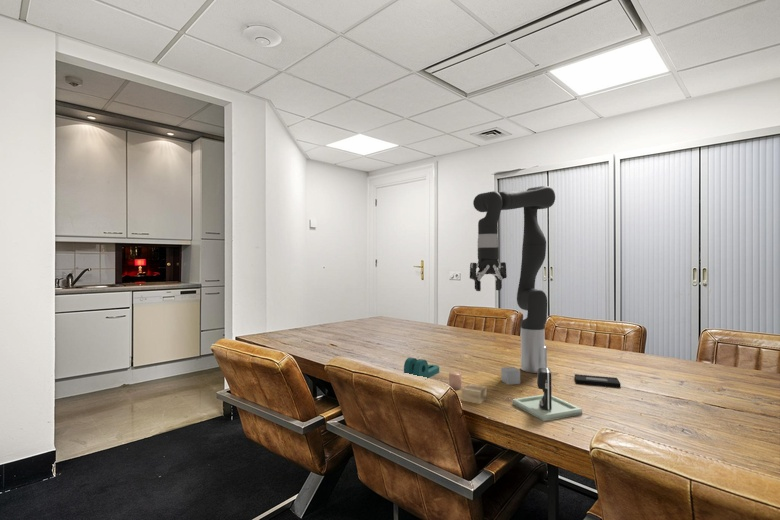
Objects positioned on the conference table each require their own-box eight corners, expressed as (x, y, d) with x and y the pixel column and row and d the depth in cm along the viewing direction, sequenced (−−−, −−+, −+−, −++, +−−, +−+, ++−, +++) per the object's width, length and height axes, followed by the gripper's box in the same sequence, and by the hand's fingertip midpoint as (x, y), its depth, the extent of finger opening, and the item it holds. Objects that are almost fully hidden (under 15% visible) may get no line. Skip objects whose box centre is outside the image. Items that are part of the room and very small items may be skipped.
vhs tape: (574, 379, 154) (574, 374, 154) (617, 383, 149) (617, 377, 149) (576, 385, 147) (576, 379, 147) (620, 389, 142) (620, 383, 142)
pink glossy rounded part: (457, 384, 147) (457, 371, 147) (463, 388, 143) (463, 374, 143) (446, 386, 146) (446, 372, 146) (452, 390, 142) (452, 375, 142)
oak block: (469, 395, 136) (469, 383, 136) (486, 399, 133) (486, 386, 133) (462, 401, 131) (462, 388, 131) (479, 404, 128) (479, 392, 128)
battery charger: (536, 401, 127) (536, 365, 127) (549, 403, 126) (549, 366, 126) (538, 410, 120) (537, 371, 120) (551, 411, 119) (551, 372, 119)
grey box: (513, 380, 153) (513, 366, 153) (520, 384, 148) (520, 370, 148) (501, 380, 152) (501, 367, 152) (507, 384, 147) (507, 371, 147)
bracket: (419, 383, 150) (418, 362, 150) (404, 380, 154) (403, 359, 154) (442, 371, 165) (442, 352, 165) (428, 369, 169) (427, 350, 169)
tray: (548, 398, 132) (548, 393, 132) (582, 414, 119) (582, 408, 119) (512, 404, 128) (512, 399, 128) (543, 421, 114) (543, 415, 114)
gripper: (476, 246, 143) (476, 292, 143) (510, 246, 147) (510, 290, 148) (465, 247, 150) (466, 290, 150) (498, 246, 154) (498, 289, 155)
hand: (488, 290), depth 149 cm, fingers open, 8 cm apart
